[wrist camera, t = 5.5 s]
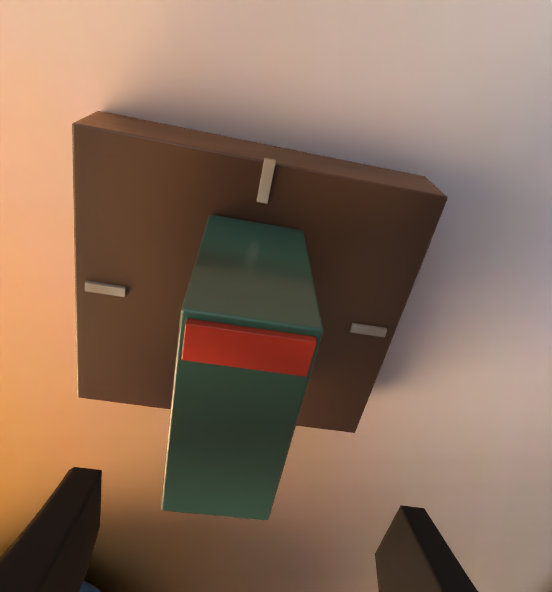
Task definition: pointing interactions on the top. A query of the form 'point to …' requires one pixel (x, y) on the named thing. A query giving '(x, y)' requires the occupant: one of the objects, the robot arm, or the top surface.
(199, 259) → the tin
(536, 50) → the top surface
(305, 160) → the stand
